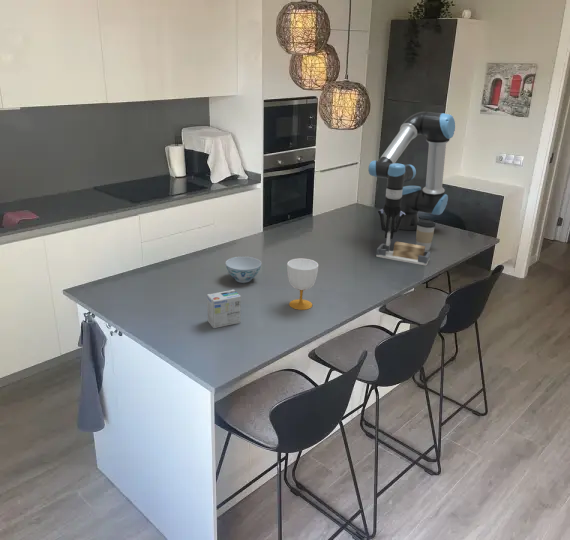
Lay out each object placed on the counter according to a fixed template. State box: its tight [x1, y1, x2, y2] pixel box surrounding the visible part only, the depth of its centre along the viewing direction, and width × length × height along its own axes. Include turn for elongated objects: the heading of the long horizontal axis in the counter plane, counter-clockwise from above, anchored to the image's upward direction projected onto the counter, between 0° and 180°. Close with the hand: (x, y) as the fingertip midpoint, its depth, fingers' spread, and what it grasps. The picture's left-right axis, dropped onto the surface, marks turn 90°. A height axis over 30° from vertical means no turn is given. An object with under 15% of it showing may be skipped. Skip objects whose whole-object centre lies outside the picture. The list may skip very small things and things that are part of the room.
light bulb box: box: [206, 289, 242, 329], centre depth 191 cm, size 11×7×11 cm, turn 118°
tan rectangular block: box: [392, 241, 425, 260], centre depth 258 cm, size 14×4×6 cm, turn 66°
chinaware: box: [225, 256, 262, 284], centre depth 227 cm, size 15×15×8 cm
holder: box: [375, 243, 432, 266], centre depth 259 cm, size 9×24×4 cm, turn 66°
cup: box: [286, 258, 319, 311], centre depth 205 cm, size 12×12×17 cm
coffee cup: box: [415, 217, 436, 252], centre depth 271 cm, size 9×9×15 cm
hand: (388, 244), depth 261 cm, fingers closed
